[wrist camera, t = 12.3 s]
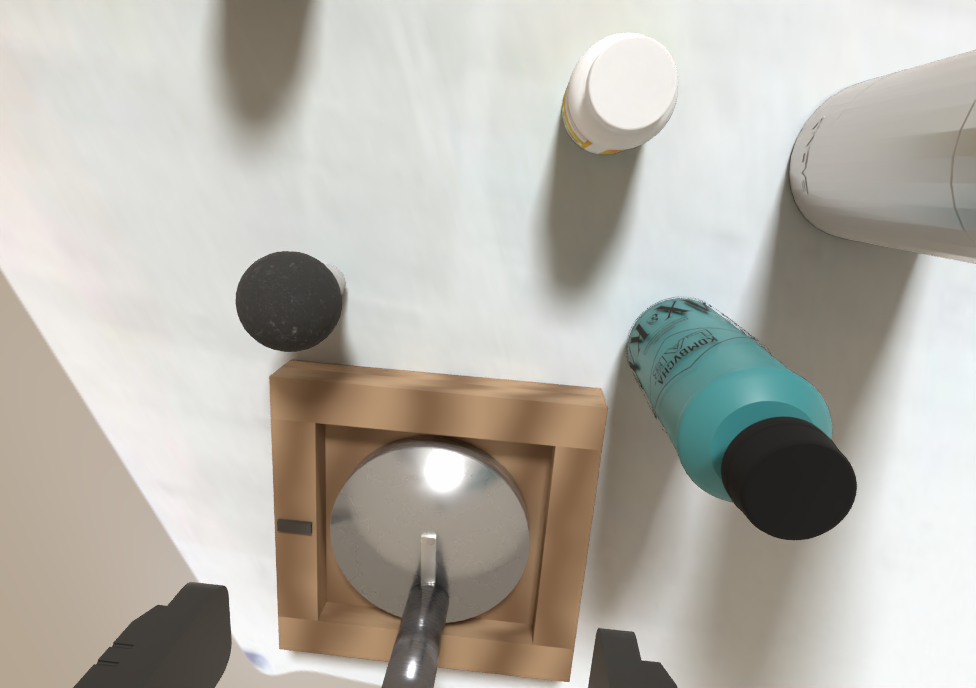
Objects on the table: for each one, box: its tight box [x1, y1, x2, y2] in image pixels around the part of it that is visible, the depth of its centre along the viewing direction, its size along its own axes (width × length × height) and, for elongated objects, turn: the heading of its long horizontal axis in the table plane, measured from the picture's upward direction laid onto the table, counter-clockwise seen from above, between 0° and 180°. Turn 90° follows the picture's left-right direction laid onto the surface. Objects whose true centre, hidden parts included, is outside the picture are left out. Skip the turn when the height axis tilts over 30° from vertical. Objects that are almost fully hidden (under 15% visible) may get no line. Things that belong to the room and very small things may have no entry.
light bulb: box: [236, 251, 346, 352], centre depth 34 cm, size 6×6×10 cm
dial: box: [330, 436, 529, 688], centre depth 37 cm, size 14×14×10 cm
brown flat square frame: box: [269, 360, 608, 682], centre depth 42 cm, size 22×22×4 cm
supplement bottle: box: [562, 33, 678, 154], centre depth 30 cm, size 5×5×10 cm
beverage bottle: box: [626, 297, 857, 540], centre depth 29 cm, size 6×7×20 cm
